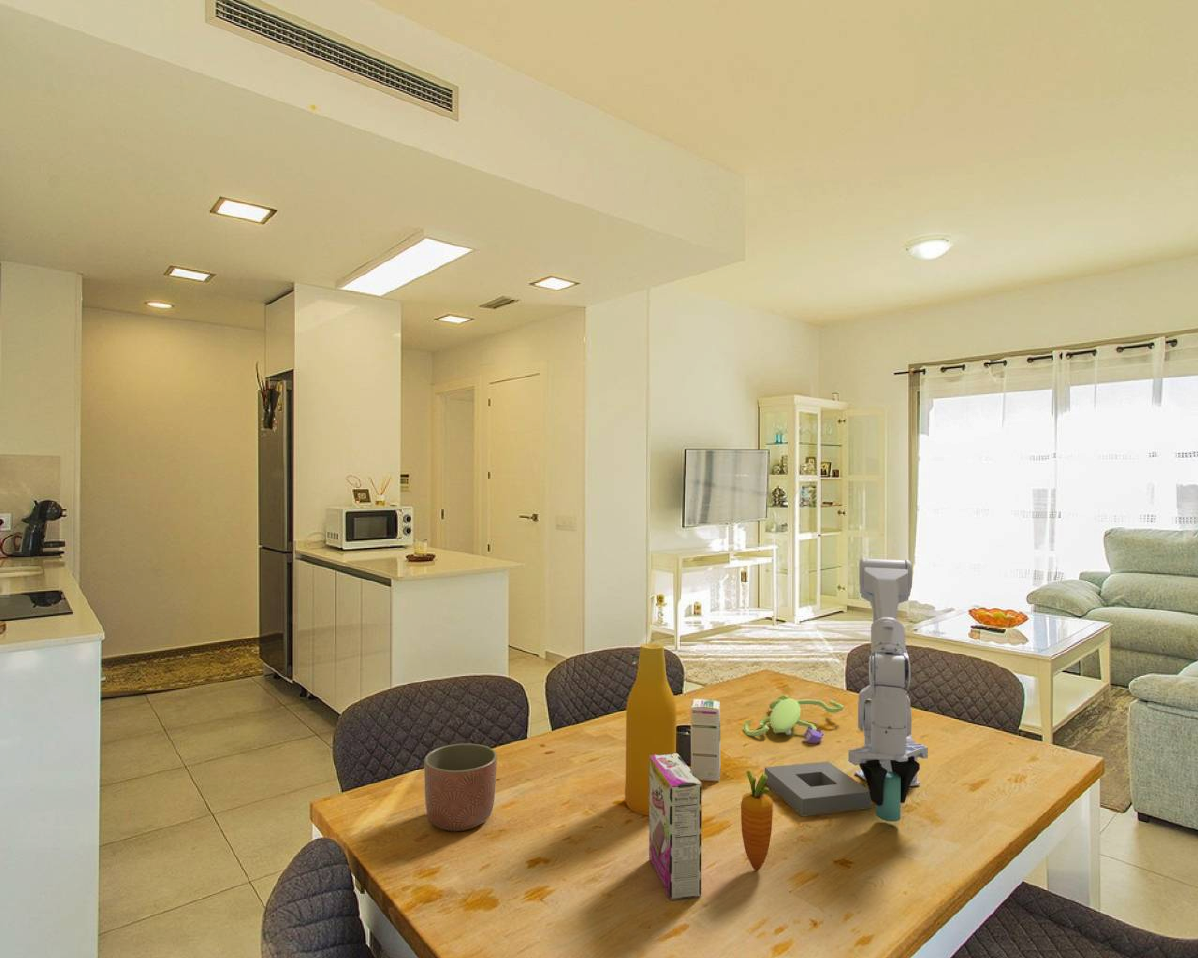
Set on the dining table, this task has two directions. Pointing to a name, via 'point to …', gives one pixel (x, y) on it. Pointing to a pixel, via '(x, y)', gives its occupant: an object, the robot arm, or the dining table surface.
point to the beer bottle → (648, 724)
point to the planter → (460, 785)
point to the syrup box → (705, 739)
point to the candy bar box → (675, 825)
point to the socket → (817, 788)
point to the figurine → (791, 718)
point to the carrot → (756, 821)
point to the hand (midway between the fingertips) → (887, 801)
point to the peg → (890, 798)
